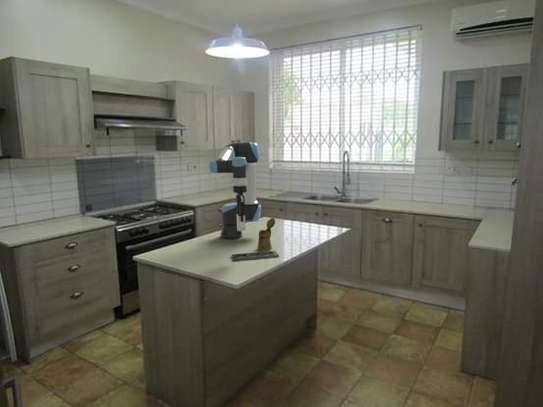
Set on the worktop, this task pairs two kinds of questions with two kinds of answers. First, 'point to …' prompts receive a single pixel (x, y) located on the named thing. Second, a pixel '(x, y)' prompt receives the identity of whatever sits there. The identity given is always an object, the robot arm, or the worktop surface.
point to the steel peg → (238, 224)
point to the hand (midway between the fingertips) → (241, 226)
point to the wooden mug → (266, 236)
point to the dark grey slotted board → (249, 256)
